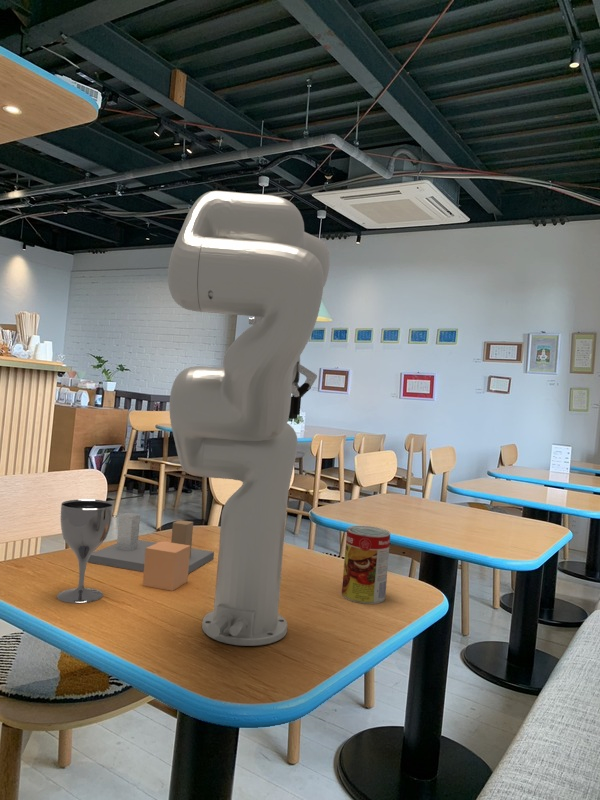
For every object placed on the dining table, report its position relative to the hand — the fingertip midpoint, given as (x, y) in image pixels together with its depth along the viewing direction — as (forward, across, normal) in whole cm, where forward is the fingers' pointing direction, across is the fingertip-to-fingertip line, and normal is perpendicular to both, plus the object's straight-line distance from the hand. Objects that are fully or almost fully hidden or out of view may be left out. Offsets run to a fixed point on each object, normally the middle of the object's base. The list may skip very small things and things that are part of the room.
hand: (268, 416), depth 109 cm
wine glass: (+31, -22, -21) cm, 44 cm away
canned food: (+31, +20, +4) cm, 37 cm away
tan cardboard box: (+31, -14, -9) cm, 35 cm away
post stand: (+31, -23, +2) cm, 39 cm away
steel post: (+30, -29, +2) cm, 42 cm away
